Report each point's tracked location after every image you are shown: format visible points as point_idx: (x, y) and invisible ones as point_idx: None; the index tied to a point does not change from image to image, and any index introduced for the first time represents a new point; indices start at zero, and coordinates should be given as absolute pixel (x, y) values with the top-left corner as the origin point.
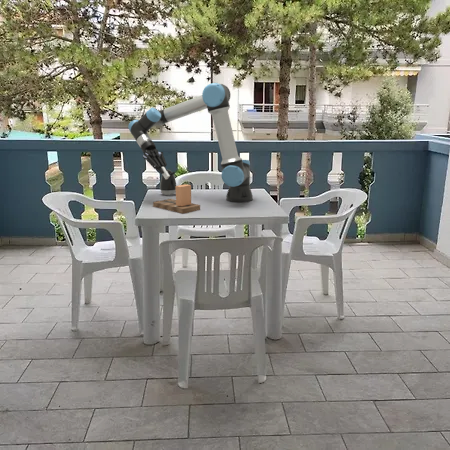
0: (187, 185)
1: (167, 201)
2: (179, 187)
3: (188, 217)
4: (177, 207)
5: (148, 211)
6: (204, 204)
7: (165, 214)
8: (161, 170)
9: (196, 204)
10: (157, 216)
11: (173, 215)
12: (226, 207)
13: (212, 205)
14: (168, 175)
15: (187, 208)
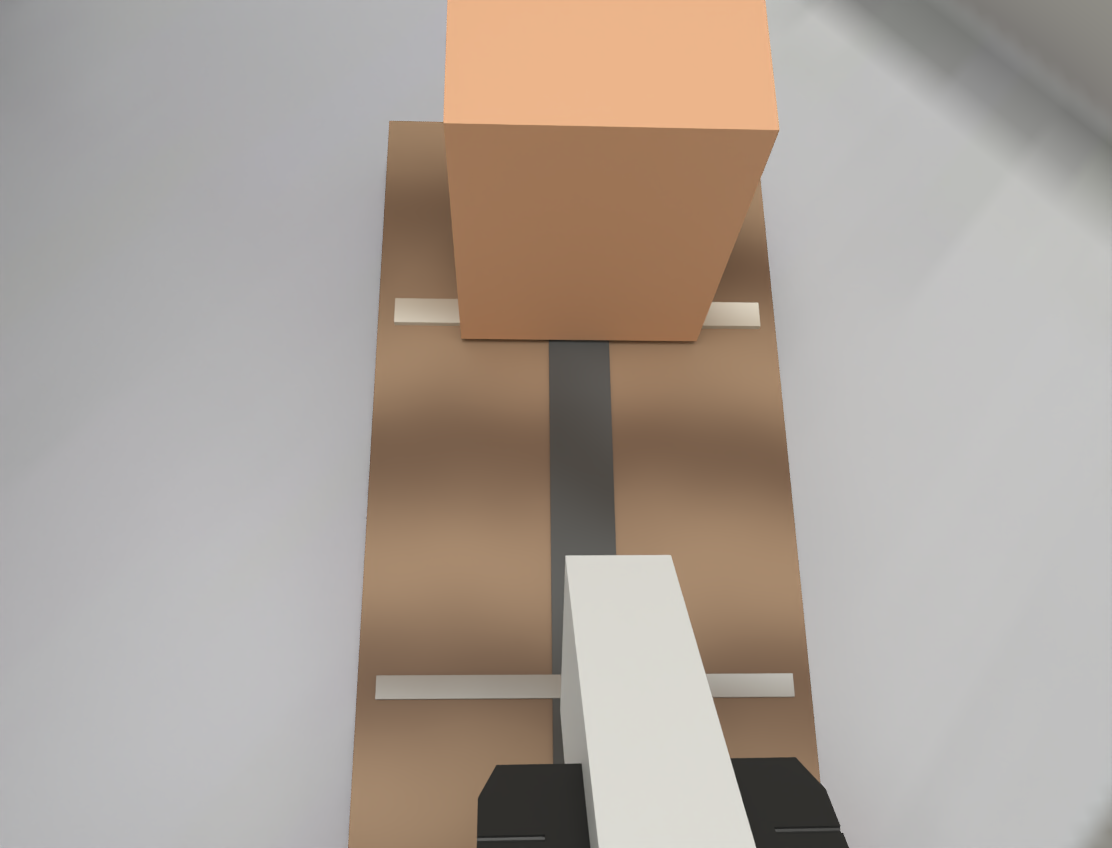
0: (527, 1)
1: None
2: (764, 26)
3: (803, 10)
4: (756, 244)
5: (1067, 660)
6: (53, 362)
7: (949, 316)
8: (831, 842)
9: (395, 185)
10: (1101, 310)
11: (892, 200)
12: (37, 14)
13: (41, 225)
14: (616, 573)
15: None
